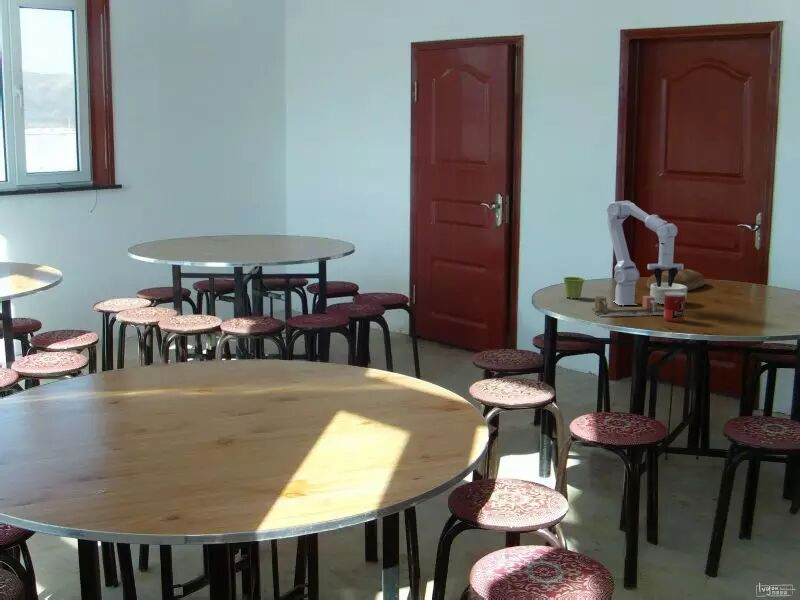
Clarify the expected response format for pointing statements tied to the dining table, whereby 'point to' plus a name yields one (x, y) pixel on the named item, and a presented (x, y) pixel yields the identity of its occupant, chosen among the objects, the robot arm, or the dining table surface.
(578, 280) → the plant pot
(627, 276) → the robot arm
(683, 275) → the bread
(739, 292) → the dining table surface
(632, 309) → the gauge beam
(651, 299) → the sliding leg
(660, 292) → the paper bowls
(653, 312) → the hole plate
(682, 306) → the canned food
